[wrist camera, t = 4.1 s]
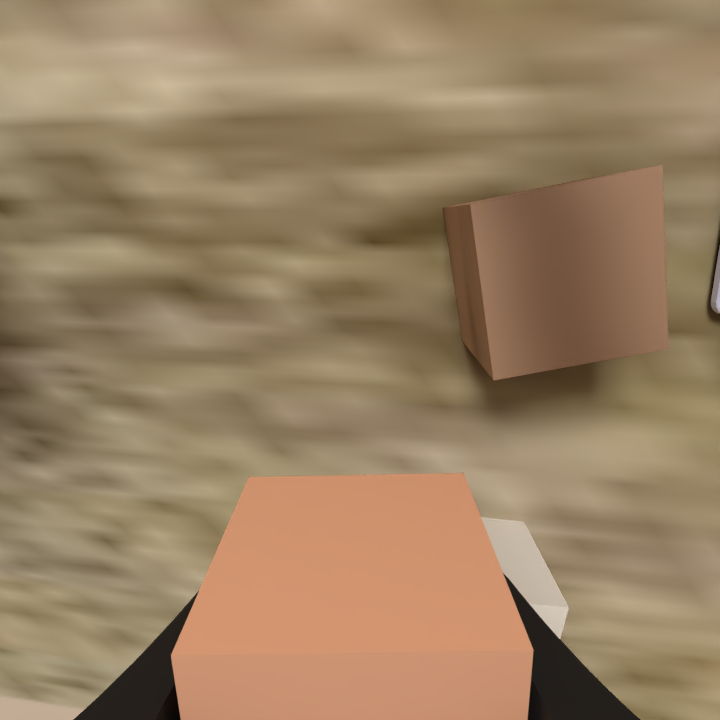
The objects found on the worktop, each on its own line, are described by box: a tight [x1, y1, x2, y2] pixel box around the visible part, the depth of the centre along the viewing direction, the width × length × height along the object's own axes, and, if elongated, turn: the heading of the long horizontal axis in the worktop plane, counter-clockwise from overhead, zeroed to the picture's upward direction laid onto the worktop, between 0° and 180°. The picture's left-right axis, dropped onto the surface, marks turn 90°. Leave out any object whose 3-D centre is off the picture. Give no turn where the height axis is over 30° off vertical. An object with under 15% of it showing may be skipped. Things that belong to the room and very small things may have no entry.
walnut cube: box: [443, 165, 669, 380], centre depth 16 cm, size 5×5×5 cm
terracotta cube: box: [171, 473, 534, 720], centre depth 10 cm, size 5×5×5 cm
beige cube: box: [481, 517, 569, 639], centre depth 20 cm, size 5×5×5 cm
